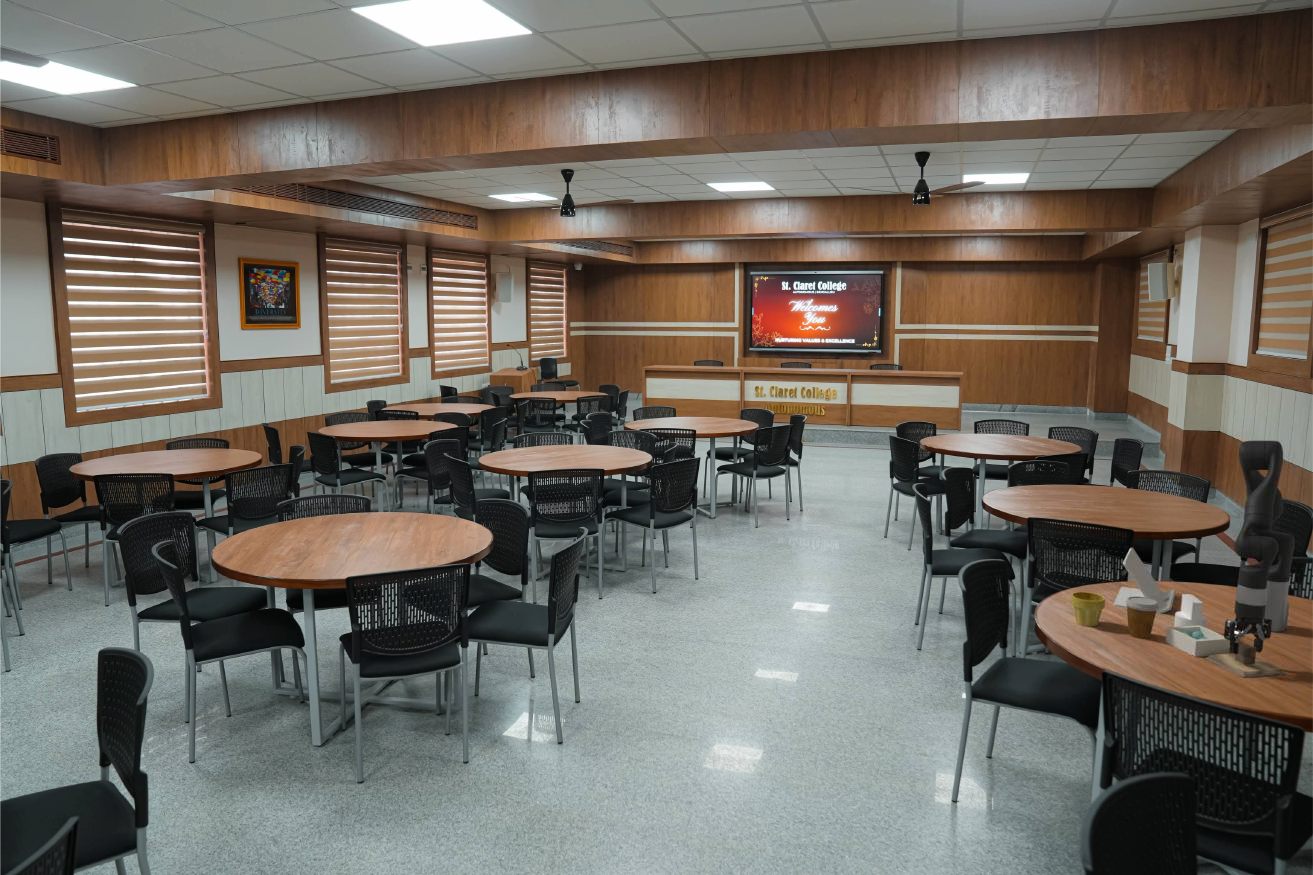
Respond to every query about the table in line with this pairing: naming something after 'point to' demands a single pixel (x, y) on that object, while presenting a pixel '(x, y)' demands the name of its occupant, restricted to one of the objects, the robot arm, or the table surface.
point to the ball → (1197, 635)
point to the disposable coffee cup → (1140, 616)
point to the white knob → (1190, 612)
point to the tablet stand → (1143, 585)
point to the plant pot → (1087, 607)
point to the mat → (1239, 673)
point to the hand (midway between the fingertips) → (1245, 652)
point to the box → (1197, 641)
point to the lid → (1245, 661)
